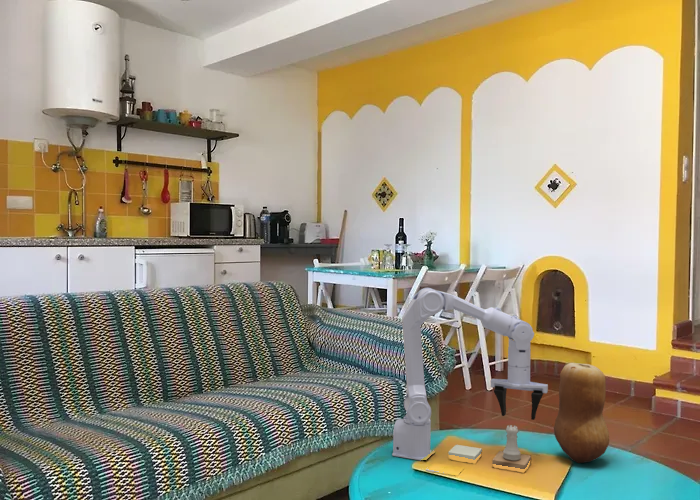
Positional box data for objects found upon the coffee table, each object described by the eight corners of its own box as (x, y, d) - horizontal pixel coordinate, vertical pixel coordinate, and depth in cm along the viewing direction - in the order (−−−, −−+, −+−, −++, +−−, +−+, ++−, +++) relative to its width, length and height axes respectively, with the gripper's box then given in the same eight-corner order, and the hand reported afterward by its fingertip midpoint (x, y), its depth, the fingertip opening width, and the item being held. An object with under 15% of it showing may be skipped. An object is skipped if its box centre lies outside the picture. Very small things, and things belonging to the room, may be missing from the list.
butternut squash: (620, 466, 156) (621, 367, 156) (577, 471, 151) (579, 370, 151) (582, 449, 169) (583, 358, 169) (541, 454, 164) (543, 360, 164)
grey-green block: (448, 459, 158) (448, 452, 158) (455, 452, 165) (456, 444, 165) (475, 464, 155) (475, 456, 155) (481, 456, 162) (481, 448, 162)
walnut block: (492, 467, 153) (492, 459, 153) (499, 458, 160) (499, 450, 160) (525, 473, 149) (525, 465, 149) (530, 463, 157) (530, 455, 157)
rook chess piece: (520, 462, 152) (521, 429, 152) (502, 460, 153) (502, 428, 153) (520, 456, 156) (521, 424, 156) (502, 454, 157) (503, 423, 157)
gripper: (488, 365, 162) (487, 416, 162) (545, 370, 155) (544, 424, 155) (494, 361, 168) (493, 410, 168) (549, 366, 161) (548, 417, 161)
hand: (518, 416), depth 162 cm, fingers open, 7 cm apart
